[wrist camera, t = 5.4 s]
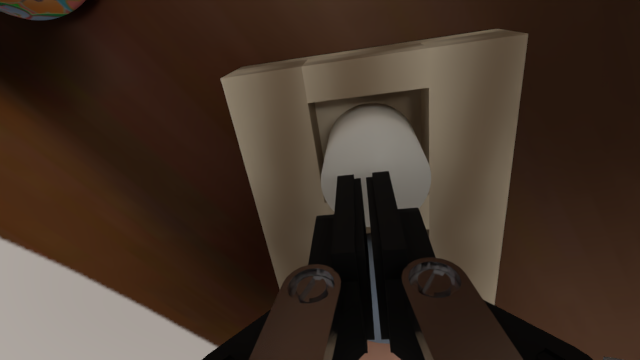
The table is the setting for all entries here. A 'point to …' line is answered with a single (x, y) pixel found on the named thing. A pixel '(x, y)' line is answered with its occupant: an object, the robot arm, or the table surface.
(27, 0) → the multicolour ceramic cup
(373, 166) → the button ivory
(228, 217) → the table surface
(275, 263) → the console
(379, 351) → the button terracotta
